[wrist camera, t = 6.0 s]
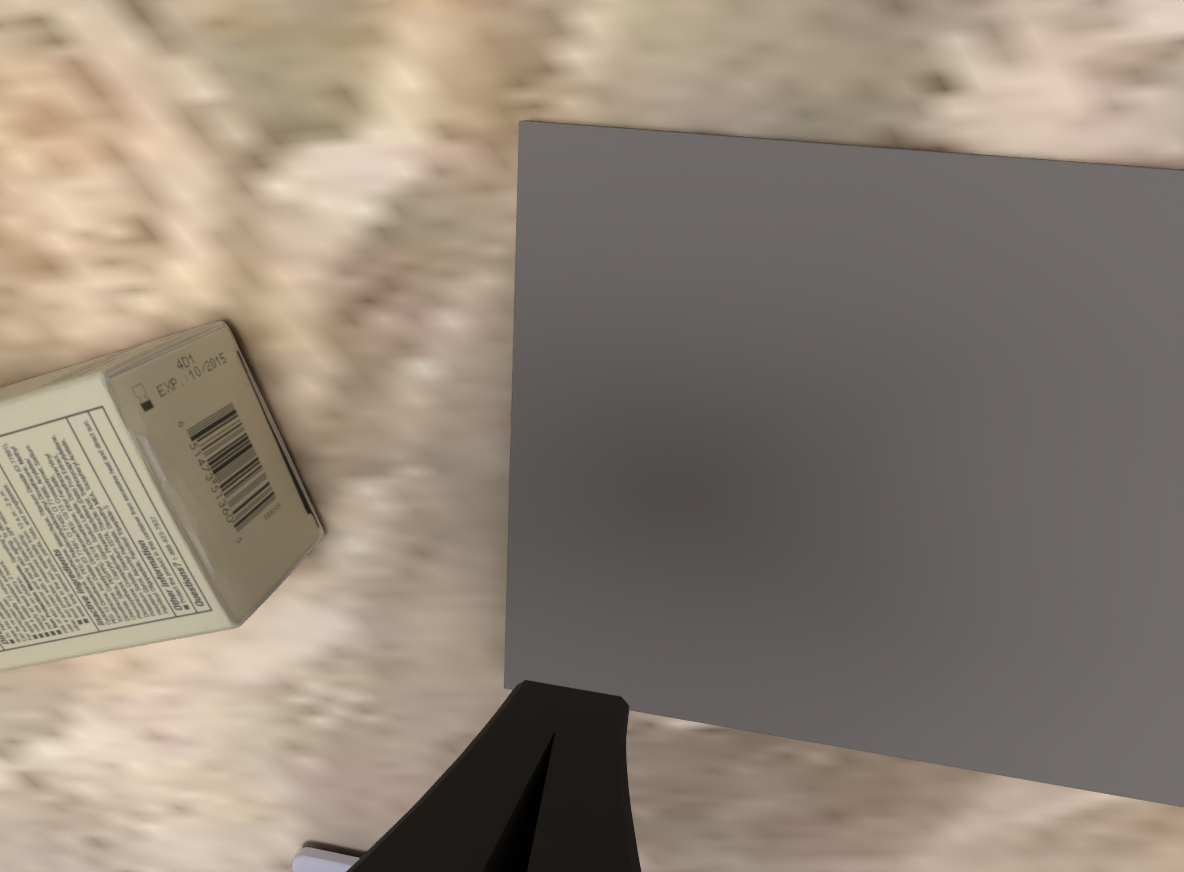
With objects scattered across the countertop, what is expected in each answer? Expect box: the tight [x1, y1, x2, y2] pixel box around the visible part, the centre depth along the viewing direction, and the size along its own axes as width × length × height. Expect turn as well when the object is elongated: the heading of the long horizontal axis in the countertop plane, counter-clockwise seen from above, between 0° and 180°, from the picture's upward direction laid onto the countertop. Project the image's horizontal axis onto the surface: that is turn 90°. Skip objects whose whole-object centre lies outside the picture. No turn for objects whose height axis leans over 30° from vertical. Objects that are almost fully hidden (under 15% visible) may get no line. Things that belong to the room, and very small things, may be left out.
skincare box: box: [0, 321, 324, 672], centre depth 20 cm, size 6×4×12 cm
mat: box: [504, 120, 1184, 807], centre depth 18 cm, size 14×17×1 cm
